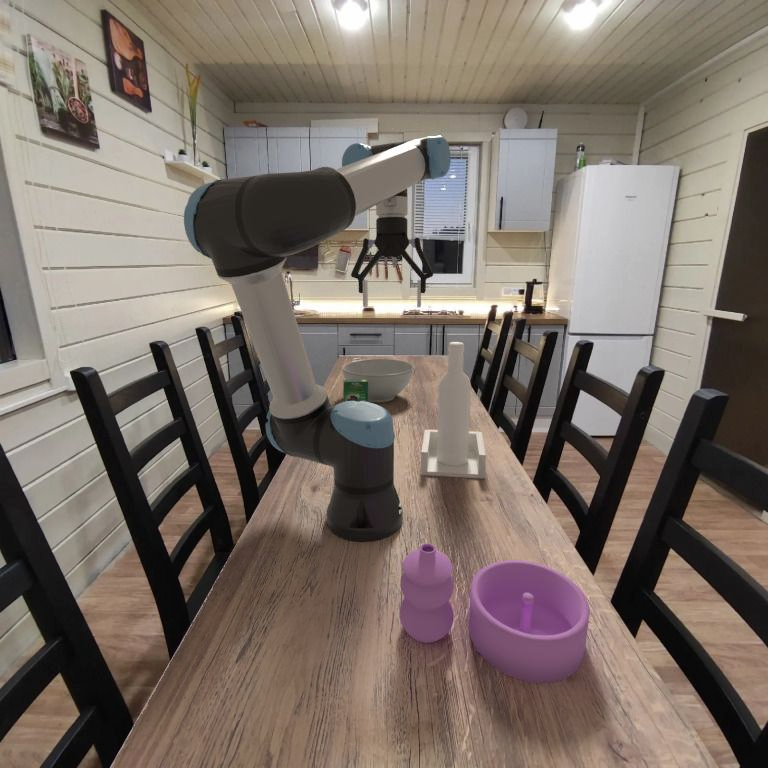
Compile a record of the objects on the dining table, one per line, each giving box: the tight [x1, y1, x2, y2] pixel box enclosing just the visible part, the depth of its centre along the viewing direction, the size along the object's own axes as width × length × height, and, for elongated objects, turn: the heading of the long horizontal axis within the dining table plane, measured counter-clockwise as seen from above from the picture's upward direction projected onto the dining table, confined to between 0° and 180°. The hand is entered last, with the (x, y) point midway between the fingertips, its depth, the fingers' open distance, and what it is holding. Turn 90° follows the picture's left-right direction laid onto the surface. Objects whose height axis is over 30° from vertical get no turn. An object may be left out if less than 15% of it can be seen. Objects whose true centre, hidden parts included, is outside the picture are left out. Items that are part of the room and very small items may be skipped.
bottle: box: [437, 341, 472, 466], centre depth 112 cm, size 8×8×30 cm
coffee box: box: [342, 379, 368, 402], centre depth 148 cm, size 8×3×13 cm, turn 99°
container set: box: [399, 542, 591, 684], centre depth 62 cm, size 25×15×13 cm, turn 85°
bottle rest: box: [420, 429, 486, 480], centre depth 116 cm, size 15×15×6 cm
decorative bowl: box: [341, 358, 415, 403], centre depth 171 cm, size 27×27×12 cm
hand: (392, 306), depth 115 cm, fingers open, 13 cm apart
